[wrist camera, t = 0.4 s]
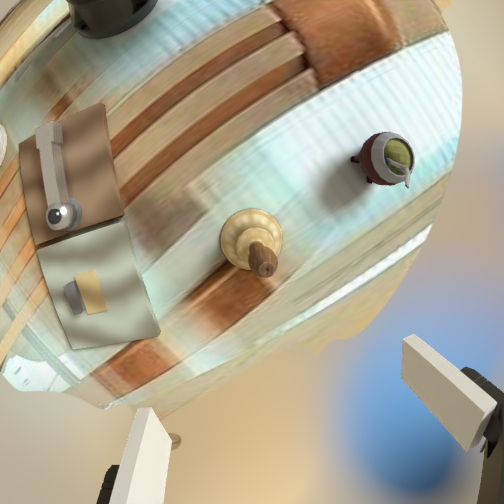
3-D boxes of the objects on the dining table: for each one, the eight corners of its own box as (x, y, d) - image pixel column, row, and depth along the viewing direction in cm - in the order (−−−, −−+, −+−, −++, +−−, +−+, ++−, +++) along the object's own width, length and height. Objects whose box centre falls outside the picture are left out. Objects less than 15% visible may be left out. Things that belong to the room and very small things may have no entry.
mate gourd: (388, 143, 37) (455, 127, 23) (387, 193, 39) (456, 197, 24) (345, 134, 37) (404, 109, 22) (344, 188, 38) (405, 187, 23)
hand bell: (240, 281, 39) (251, 334, 24) (208, 229, 37) (197, 252, 22) (293, 250, 39) (336, 284, 24) (263, 196, 37) (290, 197, 22)
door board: (23, 145, 32) (10, 142, 28) (104, 105, 32) (94, 97, 29) (76, 345, 39) (67, 356, 35) (160, 331, 40) (155, 343, 36)
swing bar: (79, 223, 33) (66, 226, 30) (60, 230, 33) (46, 234, 30) (63, 123, 30) (50, 118, 27) (44, 133, 30) (30, 129, 27)
